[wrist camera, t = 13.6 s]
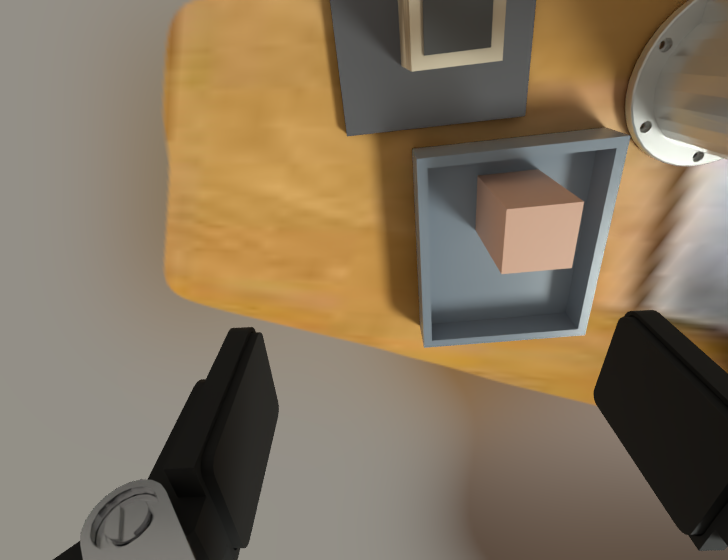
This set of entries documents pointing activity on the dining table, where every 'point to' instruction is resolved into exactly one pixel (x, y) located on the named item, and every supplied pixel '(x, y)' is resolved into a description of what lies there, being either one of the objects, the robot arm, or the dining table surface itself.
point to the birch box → (450, 32)
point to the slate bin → (472, 260)
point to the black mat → (424, 73)
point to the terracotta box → (527, 221)
